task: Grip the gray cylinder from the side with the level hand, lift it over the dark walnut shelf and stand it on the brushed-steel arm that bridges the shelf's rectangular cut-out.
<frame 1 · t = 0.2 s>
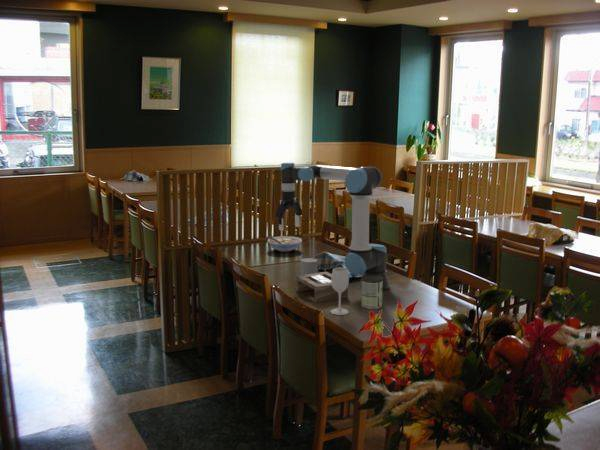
hand: (289, 228, 353), 27 cm above the table, tool pointing down, fingers open, 13 cm apart
gray cylinder: (308, 282, 348), on the table
coffee can: (371, 305, 308), on the table
shelf: (321, 293, 326), on the table
wineglass: (339, 312, 298), on the table
ramen bowl: (284, 251, 417), on the table
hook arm: (321, 280, 324), in the shelf, point 6 cm above the table
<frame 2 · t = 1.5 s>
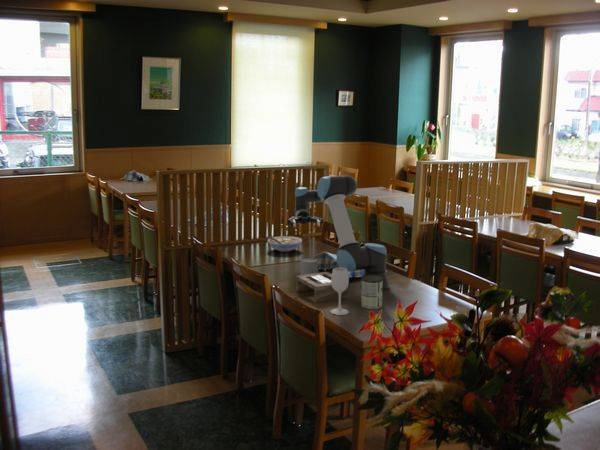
hand: (307, 224, 350), 30 cm above the table, tool horizontal, fingers open, 13 cm apart
nothing on the table moved.
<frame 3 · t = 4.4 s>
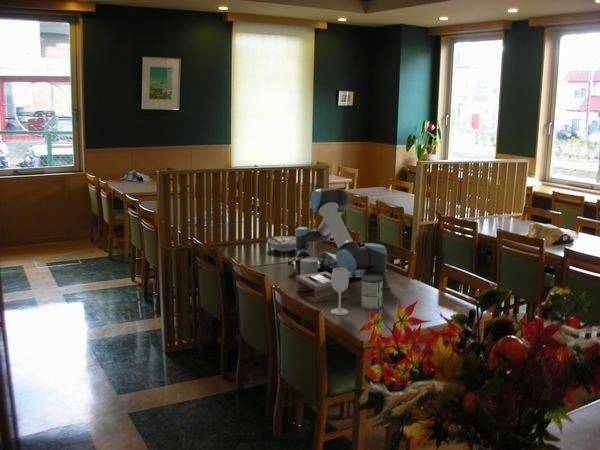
hand: (307, 266, 355), 6 cm above the table, tool horizontal, fingers open, 13 cm apart
nothing on the table moved.
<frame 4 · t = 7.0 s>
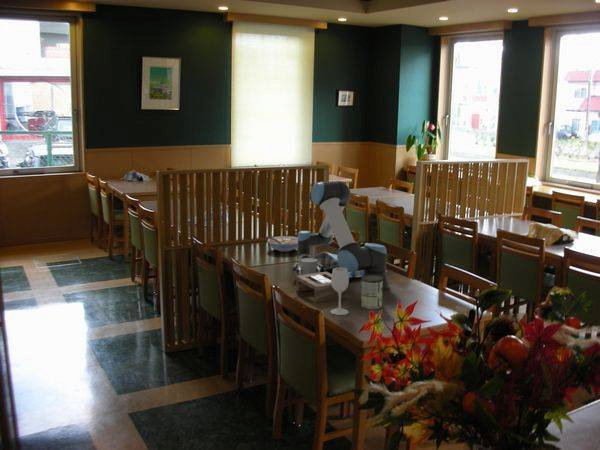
hand: (309, 272, 342), 7 cm above the table, tool horizontal, fingers closed on gray cylinder, 9 cm apart
gray cylinder: (308, 281, 348), on the table, touching gripper
everything else where it was.
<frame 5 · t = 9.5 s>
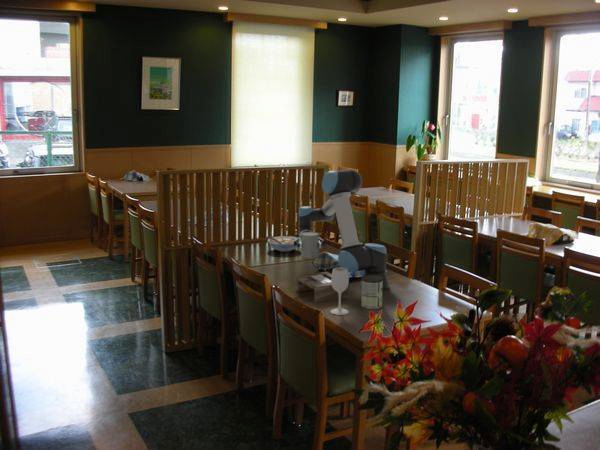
hand: (310, 246, 334), 22 cm above the table, tool horizontal, fingers closed on gray cylinder, 9 cm apart
gray cylinder: (309, 256, 340), point 15 cm above the table, touching gripper
everything else where it was.
when the fingers open (16 cm above the table, at t = 12.2 s): gray cylinder drops 1 cm, resting on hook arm.
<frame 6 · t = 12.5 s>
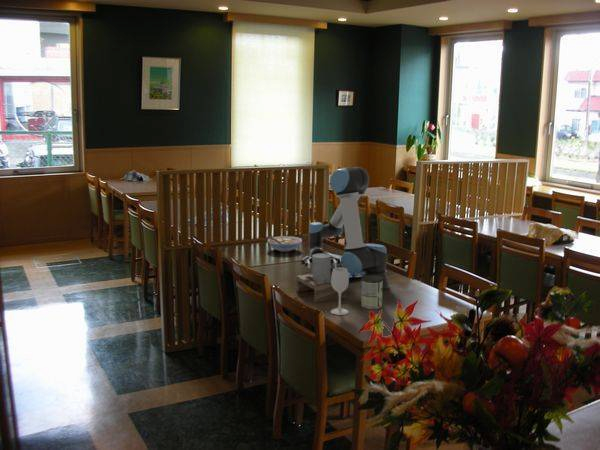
hand: (322, 265, 319), 16 cm above the table, tool horizontal, fingers open, 13 cm apart
gray cylinder: (321, 279, 324), point 8 cm above the table, touching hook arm
everything else where it was.
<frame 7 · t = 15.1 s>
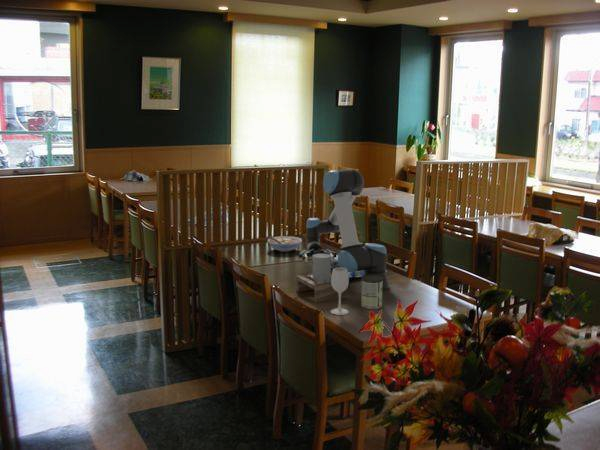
hand: (319, 259, 332), 16 cm above the table, tool horizontal, fingers open, 13 cm apart
nothing on the table moved.
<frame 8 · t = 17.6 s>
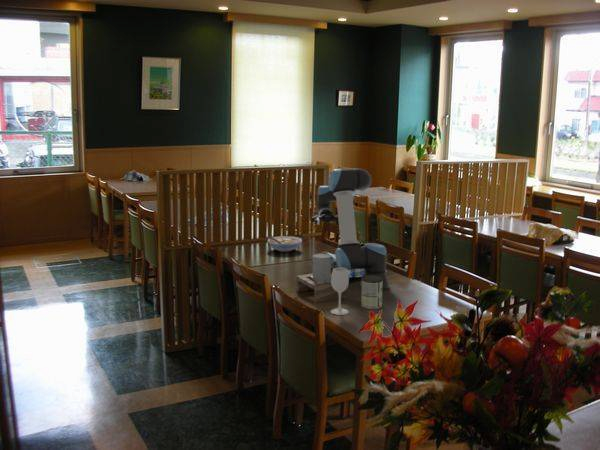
hand: (331, 222, 347), 32 cm above the table, tool horizontal, fingers open, 13 cm apart
nothing on the table moved.
at the end: gray cylinder inside the target area on the shelf (0.1 cm from its centre), point 7.8 cm above the shelf's base; gray cylinder tilted 0°; the gripper is holding nothing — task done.
